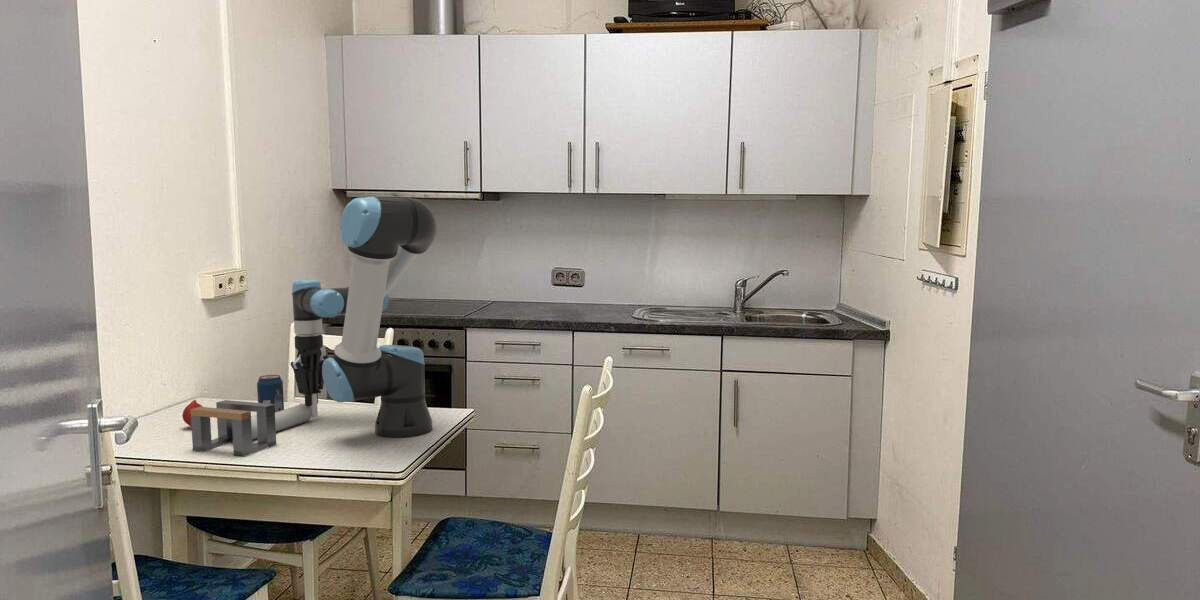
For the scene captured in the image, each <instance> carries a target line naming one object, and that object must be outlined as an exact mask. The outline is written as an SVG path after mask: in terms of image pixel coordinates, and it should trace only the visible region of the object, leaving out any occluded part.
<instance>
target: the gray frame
mask: <svg viewBox="0 0 1200 600" xmlns="http://www.w3.org/2000/svg"><path fill="white" fill-rule="evenodd" d="M215 405H216V406H215V407H207V406H203V407H197V408H194V409H191V426H192V427H191V426H190V427H191V438H192V439H191V440H192V444H191V445H192V451H193V450H195V451H194V452H199V451H203V452H206V451H210V450H211V449H215V448H218V447H221V446H224V445H226V444H227V445H228V444H229V442H230V443H232V444H233V445H232V449H233V456H234V457H235V456H236V457H242V456H243V457H246V455H247V456H249V454H250V455H252V454H255V453H257V451H258V452H260V451H259V450H261V451H263V450H265V448H266V449H268V448H267V447H269V448H271V447H270V446H272V447H274V446H276V445H277V432H276V426H275V405H274V404H266V403H258V402H251V401H241V400H229V399H224V400H220V401H216V404H215ZM251 412H254V413H256V419H257V431H258V439H257V442H254V443H253V440H252V427H251V420H252V413H251ZM211 418H214V419H216V423H217V438H213V439H212V429H211V424H212V423H211ZM232 441H233V442H232ZM223 444H224V445H223ZM275 444H276V445H275ZM220 445H221V446H220ZM273 445H274V446H273ZM217 446H218V447H217ZM262 449H263V450H262ZM205 450H206V451H205ZM254 452H255V453H254ZM251 453H252V454H251Z"/></svg>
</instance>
